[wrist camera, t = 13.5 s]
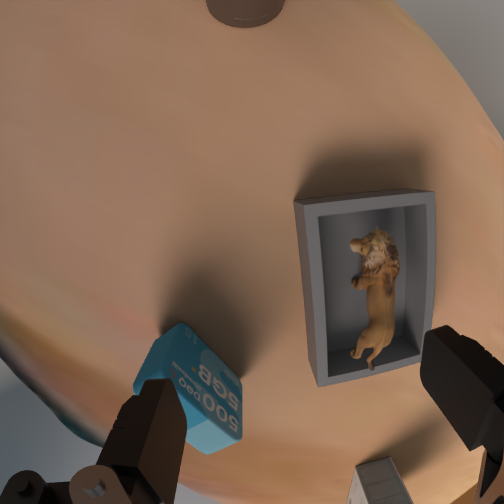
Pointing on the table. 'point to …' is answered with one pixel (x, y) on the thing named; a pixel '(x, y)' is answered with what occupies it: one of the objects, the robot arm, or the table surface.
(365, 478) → the hard drive box
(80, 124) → the table surface
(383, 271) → the lion figurine
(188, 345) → the data package
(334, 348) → the bin
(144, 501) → the robot arm
